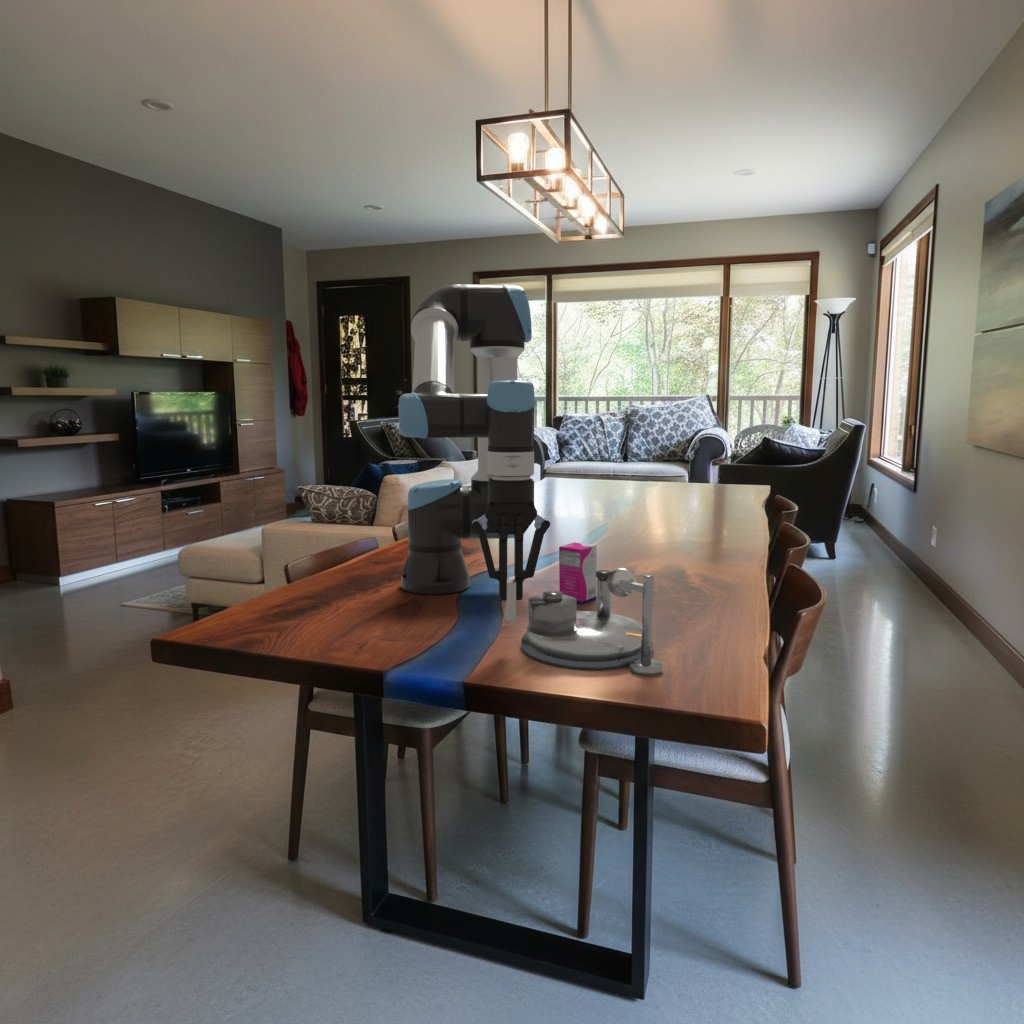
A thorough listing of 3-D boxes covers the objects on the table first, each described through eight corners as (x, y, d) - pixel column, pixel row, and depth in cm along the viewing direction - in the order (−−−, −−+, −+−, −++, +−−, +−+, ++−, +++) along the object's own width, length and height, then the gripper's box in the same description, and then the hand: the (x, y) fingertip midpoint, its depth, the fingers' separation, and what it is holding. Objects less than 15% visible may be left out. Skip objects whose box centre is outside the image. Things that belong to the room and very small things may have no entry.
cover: (520, 632, 124) (520, 596, 123) (540, 619, 132) (540, 584, 131) (565, 639, 121) (566, 602, 120) (583, 625, 128) (583, 590, 127)
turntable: (507, 648, 123) (507, 590, 121) (554, 616, 140) (555, 564, 139) (625, 668, 114) (627, 605, 112) (660, 631, 132) (662, 576, 130)
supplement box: (573, 594, 160) (574, 541, 159) (597, 598, 157) (598, 545, 155) (557, 599, 156) (558, 545, 154) (581, 605, 152) (582, 549, 151)
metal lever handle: (597, 668, 118) (599, 573, 115) (607, 658, 122) (609, 566, 120) (657, 678, 113) (660, 579, 111) (665, 667, 118) (669, 572, 115)
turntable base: (498, 657, 122) (498, 650, 122) (551, 620, 142) (551, 615, 142) (629, 679, 113) (629, 672, 113) (667, 637, 132) (667, 631, 132)
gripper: (471, 480, 117) (472, 626, 121) (554, 479, 118) (552, 624, 122) (469, 475, 125) (470, 613, 128) (547, 474, 126) (546, 611, 129)
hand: (510, 618), depth 125 cm, fingers closed
